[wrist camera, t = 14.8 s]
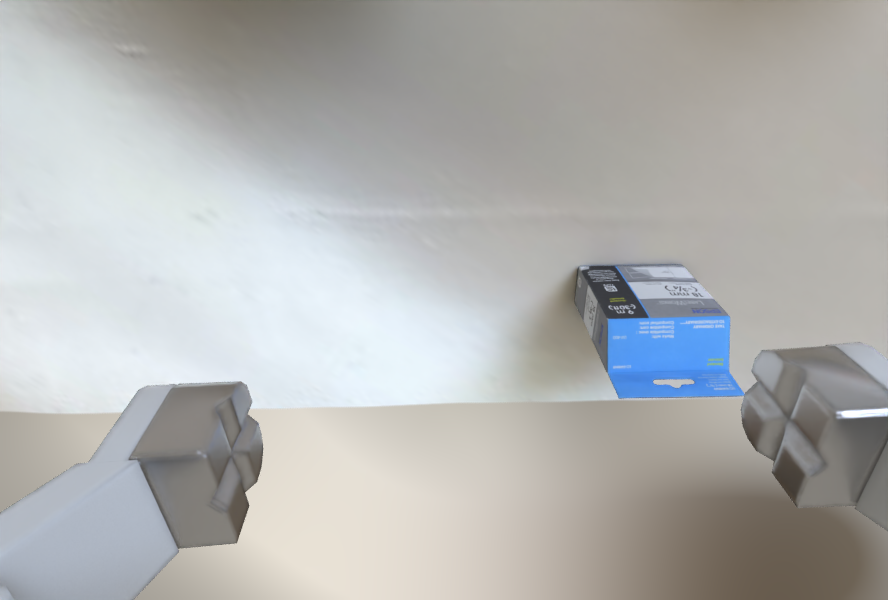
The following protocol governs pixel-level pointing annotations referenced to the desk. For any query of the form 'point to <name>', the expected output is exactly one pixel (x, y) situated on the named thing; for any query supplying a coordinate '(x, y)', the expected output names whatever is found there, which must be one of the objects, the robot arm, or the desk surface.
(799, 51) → the desk surface
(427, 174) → the desk surface
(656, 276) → the tape cartridge
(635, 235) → the desk surface
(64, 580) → the robot arm
